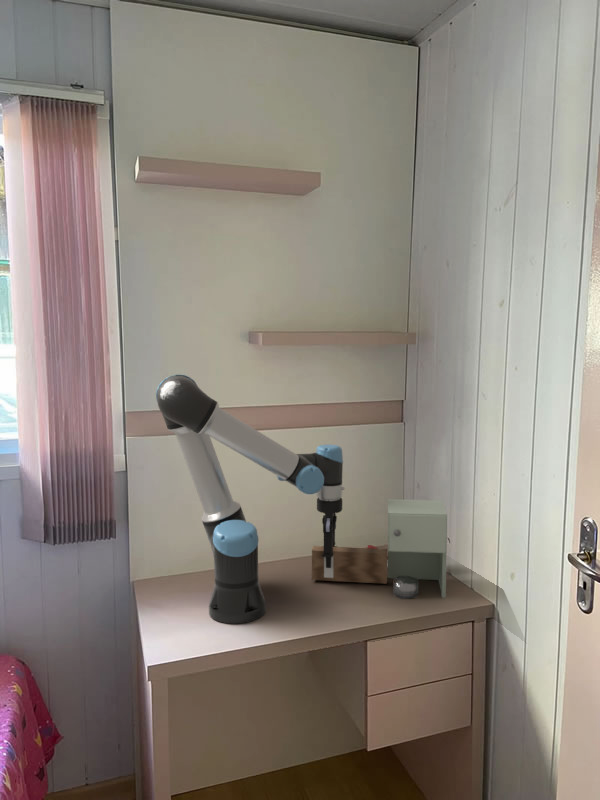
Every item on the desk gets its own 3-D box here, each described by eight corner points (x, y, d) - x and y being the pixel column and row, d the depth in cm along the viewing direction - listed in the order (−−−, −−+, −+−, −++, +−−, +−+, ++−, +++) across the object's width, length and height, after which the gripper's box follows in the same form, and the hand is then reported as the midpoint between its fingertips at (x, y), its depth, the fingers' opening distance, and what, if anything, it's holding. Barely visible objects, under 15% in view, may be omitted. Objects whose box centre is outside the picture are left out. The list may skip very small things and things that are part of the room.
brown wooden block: (311, 579, 192) (311, 550, 190) (313, 574, 195) (313, 545, 194) (386, 583, 189) (387, 553, 188) (386, 578, 192) (387, 549, 191)
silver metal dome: (393, 598, 180) (393, 584, 180) (392, 588, 187) (392, 575, 187) (419, 599, 179) (419, 585, 179) (416, 589, 186) (417, 576, 186)
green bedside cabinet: (387, 598, 180) (388, 514, 178) (387, 576, 196) (388, 499, 193) (446, 600, 178) (447, 516, 175) (441, 578, 194) (442, 500, 191)
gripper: (340, 506, 181) (340, 586, 184) (344, 490, 198) (343, 564, 201) (313, 505, 182) (313, 584, 185) (319, 489, 199) (319, 563, 202)
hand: (329, 573), depth 193 cm, fingers closed on brown wooden block, 4 cm apart
